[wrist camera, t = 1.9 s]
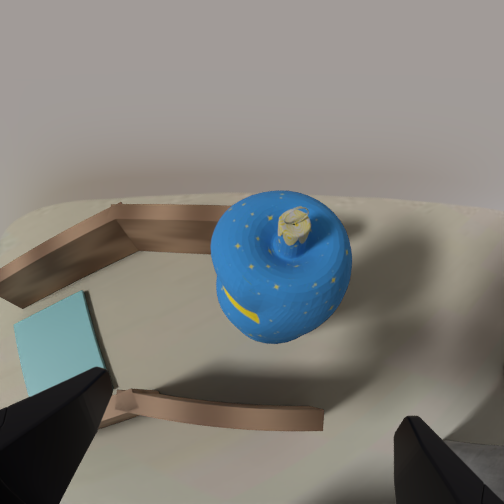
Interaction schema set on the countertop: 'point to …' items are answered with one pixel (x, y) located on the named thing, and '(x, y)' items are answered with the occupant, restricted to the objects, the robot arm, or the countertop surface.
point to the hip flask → (483, 463)
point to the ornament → (280, 265)
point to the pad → (57, 344)
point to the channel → (115, 248)
